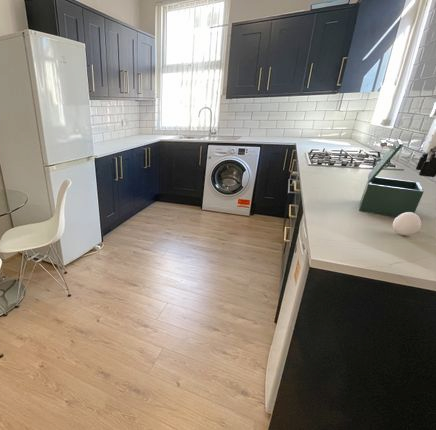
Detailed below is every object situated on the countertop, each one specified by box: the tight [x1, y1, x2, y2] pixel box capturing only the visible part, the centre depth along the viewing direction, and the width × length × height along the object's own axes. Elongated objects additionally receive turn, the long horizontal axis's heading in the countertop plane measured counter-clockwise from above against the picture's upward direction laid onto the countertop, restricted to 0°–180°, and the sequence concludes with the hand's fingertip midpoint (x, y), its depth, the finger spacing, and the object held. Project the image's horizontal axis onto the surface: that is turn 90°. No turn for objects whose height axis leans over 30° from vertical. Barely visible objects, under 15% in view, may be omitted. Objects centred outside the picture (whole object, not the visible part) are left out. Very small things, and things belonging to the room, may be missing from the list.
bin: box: [358, 176, 424, 218], centre depth 108 cm, size 15×16×11 cm
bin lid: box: [367, 139, 404, 183], centre depth 107 cm, size 15×16×5 cm
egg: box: [392, 212, 422, 236], centre depth 88 cm, size 6×6×8 cm
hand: (424, 173), depth 83 cm, fingers open, 9 cm apart
